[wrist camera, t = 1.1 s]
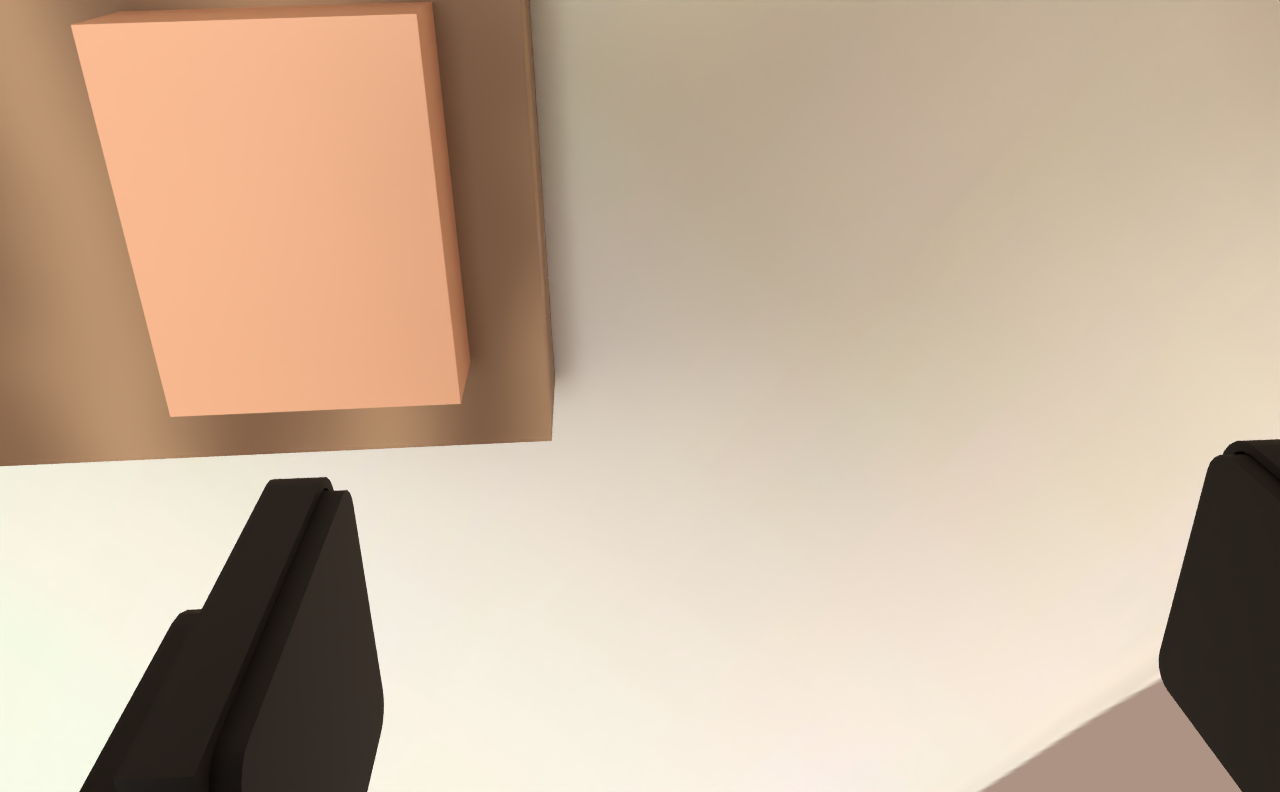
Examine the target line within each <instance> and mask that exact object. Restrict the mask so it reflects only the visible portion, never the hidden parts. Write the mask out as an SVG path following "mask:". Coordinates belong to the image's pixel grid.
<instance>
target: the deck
mask: <svg viewBox="0 0 1280 792" xmlns="http://www.w3.org/2000/svg"><path fill="white" fill-rule="evenodd" d="M404 2H432V6H433V15H434V25H435V34H436V44H437V53H438V62H439V72H440V81H441V90H442V100H443V109H444V119H445V128H446V137H447V147H448V156H449V165H450V175H451V184H452V193H453V203H454V212H455V222H456V231H457V240H458V250H459V259H460V268H461V278H462V287H463V297H464V306H465V315H466V325H467V334H468V343H469V353H470V366H469V370H468V375H467V379H466V383H465V388H464V392H463V396H462V401H461V404H447V405H425V406H403V407H381V408H358V409H336V410H314V411H292V412H269V413H247V414H225V415H202V416H180V417H170V414H169V410H168V406H167V402H166V398H165V394H164V390H163V386H162V382H161V378H160V374H159V370H158V367H157V363H156V359H155V355H154V351H153V347H152V343H151V339H150V335H149V331H148V327H147V323H146V319H145V315H144V311H143V308H142V304H141V300H140V296H139V292H138V288H137V284H136V280H135V276H134V272H133V268H132V264H131V260H130V256H129V252H128V249H127V245H126V241H125V237H124V233H123V229H122V225H121V221H120V217H119V213H118V209H117V205H116V201H115V197H114V193H113V190H112V186H111V182H110V178H109V174H108V170H107V166H106V162H105V158H104V154H103V150H102V146H101V142H100V138H99V134H98V131H97V127H96V123H95V119H94V115H93V111H92V107H91V103H90V99H89V95H88V91H87V87H86V83H85V79H84V75H83V71H82V68H81V64H80V60H79V56H78V52H77V48H76V44H75V40H74V36H73V32H72V28H71V25H72V24H76V23H79V22H83V21H87V20H90V19H94V18H98V17H101V16H105V15H108V14H112V13H116V12H119V11H150V10H181V9H213V8H245V7H277V6H309V5H341V4H373V3H404ZM554 386H555V374H554V359H553V344H552V330H551V315H550V300H549V285H548V271H547V256H546V241H545V226H544V211H543V197H542V182H541V167H540V152H539V138H538V123H537V108H536V93H535V79H534V64H533V49H532V34H531V19H530V5H529V0H0V466H15V465H37V464H58V463H80V462H102V461H123V460H145V459H166V458H188V457H210V456H231V455H253V454H275V453H296V452H318V451H339V450H361V449H383V448H404V447H426V446H447V445H469V444H491V443H512V442H534V441H552V424H553V405H554Z"/></svg>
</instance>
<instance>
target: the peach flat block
mask: <svg viewBox="0 0 1280 792" xmlns="http://www.w3.org/2000/svg"><path fill="white" fill-rule="evenodd" d="M71 28H72V32H73V36H74V40H75V44H76V48H77V52H78V56H79V60H80V64H81V68H82V71H83V75H84V79H85V83H86V87H87V91H88V95H89V99H90V103H91V107H92V111H93V115H94V119H95V123H96V127H97V131H98V134H99V138H100V142H101V146H102V150H103V154H104V158H105V162H106V166H107V170H108V174H109V178H110V182H111V186H112V190H113V193H114V197H115V201H116V205H117V209H118V213H119V217H120V221H121V225H122V229H123V233H124V237H125V241H126V245H127V249H128V252H129V256H130V260H131V264H132V268H133V272H134V276H135V280H136V284H137V288H138V292H139V296H140V300H141V304H142V308H143V311H144V315H145V319H146V323H147V327H148V331H149V335H150V339H151V343H152V347H153V351H154V355H155V359H156V363H157V367H158V370H159V374H160V378H161V382H162V386H163V390H164V394H165V398H166V402H167V406H168V410H169V414H170V417H180V416H202V415H225V414H247V413H269V412H292V411H314V410H336V409H358V408H381V407H403V406H425V405H447V404H461V401H462V396H463V392H464V388H465V383H466V379H467V375H468V370H469V366H470V353H469V343H468V334H467V325H466V315H465V306H464V297H463V287H462V278H461V268H460V259H459V250H458V240H457V231H456V222H455V212H454V203H453V193H452V184H451V175H450V165H449V156H448V147H447V137H446V128H445V119H444V109H443V100H442V90H441V81H440V72H439V62H438V53H437V44H436V34H435V25H434V15H433V6H432V2H404V3H373V4H341V5H309V6H277V7H245V8H213V9H181V10H150V11H119V12H116V13H112V14H108V15H105V16H101V17H98V18H94V19H90V20H87V21H83V22H79V23H76V24H72V25H71Z"/></svg>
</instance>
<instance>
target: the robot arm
mask: <svg viewBox="0 0 1280 792" xmlns="http://www.w3.org/2000/svg"><path fill="white" fill-rule="evenodd" d="M1159 669H1160V674H1161V678H1162V680H1163V683H1164V685H1165V687H1166V688H1167V690H1168V691H1169V693H1170V694H1171V696H1172V697H1173V698H1174V700H1175V701H1176V702H1177V704H1178V705H1179V707H1180V708H1181V709H1182V711H1183V712H1184V713H1185V715H1186V716H1187V717H1188V719H1189V720H1190V721H1191V723H1192V724H1193V725H1194V727H1195V728H1196V730H1197V731H1198V732H1199V734H1200V735H1201V736H1202V738H1203V739H1204V740H1205V742H1206V743H1207V745H1208V746H1209V747H1210V749H1211V750H1212V751H1213V753H1214V754H1215V755H1216V757H1217V758H1218V759H1219V761H1220V762H1221V763H1222V765H1223V766H1224V768H1225V769H1226V770H1227V772H1228V773H1229V774H1230V776H1231V777H1232V778H1233V780H1234V781H1235V783H1236V784H1237V785H1238V787H1239V788H1240V789H1241V791H1242V792H1280V439H1275V440H1250V441H1236V442H1234V443H1232V444H1230V445H1229V446H1228V447H1227V448H1226V450H1225V451H1224V453H1223V455H1219V456H1217V457H1215V458H1214V459H1213V460H1212V461H1211V462H1210V465H1209V467H1208V470H1207V473H1206V477H1205V481H1204V485H1203V489H1202V492H1201V496H1200V500H1199V504H1198V508H1197V511H1196V515H1195V519H1194V523H1193V527H1192V531H1191V534H1190V538H1189V542H1188V546H1187V550H1186V553H1185V557H1184V561H1183V565H1182V569H1181V572H1180V576H1179V580H1178V584H1177V588H1176V592H1175V595H1174V599H1173V603H1172V607H1171V611H1170V614H1169V618H1168V622H1167V626H1166V630H1165V633H1164V637H1163V641H1162V645H1161V649H1160V653H1159ZM383 714H384V698H383V688H382V682H381V676H380V670H379V663H378V657H377V651H376V644H375V638H374V632H373V626H372V619H371V613H370V607H369V601H368V594H367V588H366V582H365V575H364V569H363V563H362V557H361V550H360V544H359V538H358V532H357V525H356V519H355V513H354V507H353V501H352V497H351V495H350V492H349V491H348V490H342V491H334V490H333V487H332V484H331V482H330V480H329V479H328V478H327V477H320V478H294V479H273V480H270V481H269V482H268V483H267V485H266V487H265V488H264V490H263V492H262V494H261V496H260V498H259V500H258V502H257V504H256V506H255V508H254V510H253V512H252V514H251V515H250V517H249V519H248V521H247V523H246V525H245V527H244V529H243V531H242V533H241V535H240V537H239V539H238V540H237V542H236V544H235V546H234V548H233V550H232V552H231V554H230V556H229V558H228V560H227V562H226V564H225V566H224V567H223V569H222V571H221V573H220V575H219V577H218V579H217V581H216V583H215V585H214V587H213V589H212V591H211V592H210V594H209V596H208V598H207V600H206V602H205V604H204V606H203V608H202V609H197V610H186V611H184V612H182V613H180V614H179V615H178V616H177V618H176V619H175V620H174V622H173V623H172V624H171V626H170V628H169V630H168V631H167V633H166V635H165V637H164V639H163V641H162V642H161V644H160V646H159V648H158V650H157V651H156V653H155V655H154V657H153V659H152V661H151V662H150V664H149V666H148V668H147V670H146V671H145V673H144V675H143V677H142V679H141V681H140V682H139V684H138V686H137V688H136V690H135V691H134V693H133V695H132V697H131V699H130V701H129V702H128V704H127V706H126V708H125V710H124V711H123V713H122V715H121V717H120V719H119V721H118V722H117V724H116V726H115V728H114V730H113V731H112V733H111V735H110V737H109V739H108V741H107V742H106V744H105V746H104V748H103V750H102V751H101V753H100V755H99V757H98V759H97V761H96V762H95V764H94V766H93V768H92V770H91V771H90V773H89V775H88V777H87V779H86V781H85V782H84V784H83V786H82V788H81V790H80V791H79V792H367V790H368V786H369V782H370V778H371V773H372V769H373V765H374V760H375V756H376V752H377V747H378V743H379V739H380V734H381V730H382V724H383Z"/></svg>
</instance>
